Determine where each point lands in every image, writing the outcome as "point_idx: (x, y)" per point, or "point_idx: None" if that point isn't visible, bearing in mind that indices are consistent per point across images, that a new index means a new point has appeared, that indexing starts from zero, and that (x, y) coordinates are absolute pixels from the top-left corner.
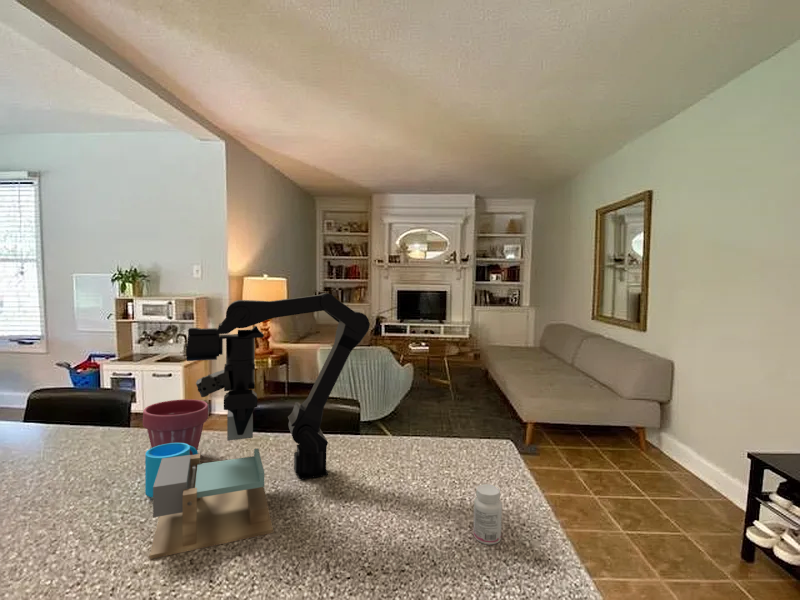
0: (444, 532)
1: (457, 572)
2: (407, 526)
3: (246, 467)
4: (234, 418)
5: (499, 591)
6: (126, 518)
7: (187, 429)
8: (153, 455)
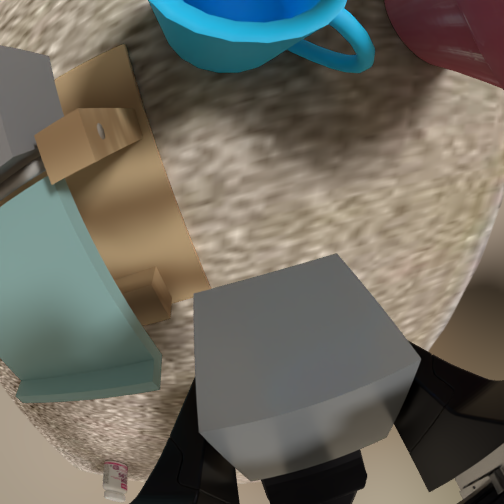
0: (112, 452)
1: (63, 443)
2: (113, 439)
3: (67, 353)
4: (161, 459)
5: (57, 449)
6: (66, 8)
7: (470, 31)
8: None
